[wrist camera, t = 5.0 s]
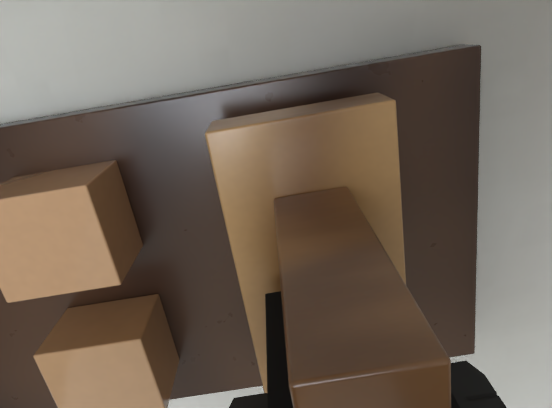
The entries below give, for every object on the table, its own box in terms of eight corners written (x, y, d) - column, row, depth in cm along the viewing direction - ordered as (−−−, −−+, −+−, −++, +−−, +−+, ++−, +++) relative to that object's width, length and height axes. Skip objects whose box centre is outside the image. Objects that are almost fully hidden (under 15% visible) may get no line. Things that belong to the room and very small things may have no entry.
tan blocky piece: (158, 292, 19) (140, 339, 16) (180, 359, 21) (166, 413, 18) (66, 307, 19) (31, 356, 16) (94, 372, 21) (66, 428, 18)
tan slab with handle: (368, 87, 16) (591, 184, 5) (389, 352, 21) (527, 686, 10) (215, 113, 16) (126, 260, 5) (271, 371, 21) (282, 718, 10)
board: (464, 44, 17) (481, 44, 16) (462, 334, 23) (475, 354, 21) (-185, 156, 18) (-223, 165, 16) (-34, 410, 23) (-52, 433, 22)
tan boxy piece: (116, 159, 17) (85, 185, 14) (143, 245, 18) (121, 285, 15) (11, 177, 17) (-41, 206, 14) (47, 261, 18) (6, 303, 16)
